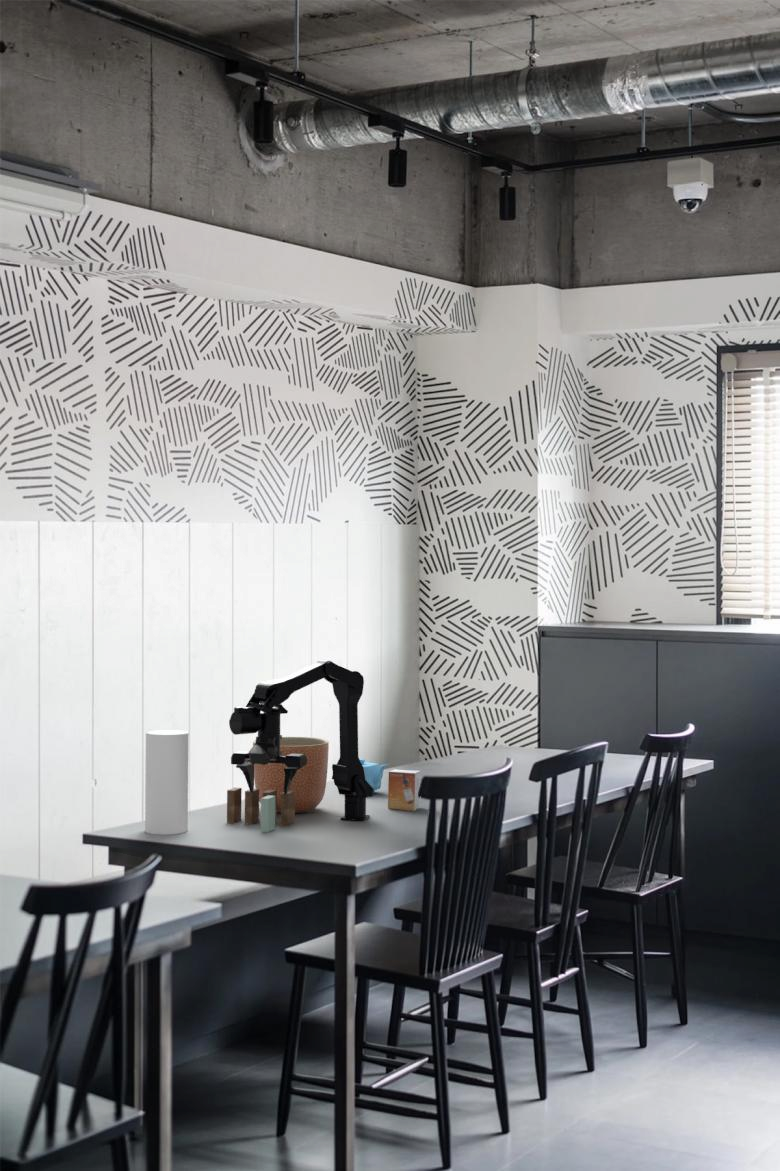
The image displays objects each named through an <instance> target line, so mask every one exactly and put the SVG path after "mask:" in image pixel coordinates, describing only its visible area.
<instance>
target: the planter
mask: <svg viewBox="0 0 780 1171" xmlns="http://www.w3.org/2000/svg"><path fill="white" fill-rule="evenodd" d="M255 743H256V739H255V740H253V741H252V747H253V746H254V745H255ZM280 751H282V755H280V756H286V755H289V754H292V753H293V754H305V756H306V758H307V765H305V766H302V768H300V769H298V770H297V772H296V774H295V776H294V778H293V780H292V782H291V785H290V787H289V790H288V791H295V814H300V813H307V812H310V811H314V809H316V808H317V807H319V805H320V804H321V802H322V801H323V800H324V796H325V793H326V787H327V779H328V770H329V769H328V767H329V740H327V739H325V738H318V737H309V736H282V739H280ZM271 760H272V759H271ZM273 760H274V759H273ZM286 767H287V766H286V765H285V764H283V763H268V764H266V765H262V764H254V789H259V804H261V798H263V792H265V791H267V790H277V814H278V813H280V814H281V793H283V792H284V781H285V772H284V768H286Z"/></svg>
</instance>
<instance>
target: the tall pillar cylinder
mask: <svg viewBox="0 0 780 1171" xmlns="http://www.w3.org/2000/svg"><path fill="white" fill-rule="evenodd" d="M144 785H145V789H144V790H145V791H144V792H145V795H144V798H145V799H144V800H145V801H144V808H145V809H144V810H145V812H144V815H145V816H144V832H145V833H147V834H151V835H161V836H162V835H167V836H168V835H179V834H184V833H187V832H188V831H189V828H188V827H189V825H188V824H189V822H188V821H189V732H188V731H187V730H179V729H157V730H149V731H146V732H145V784H144Z"/></svg>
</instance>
